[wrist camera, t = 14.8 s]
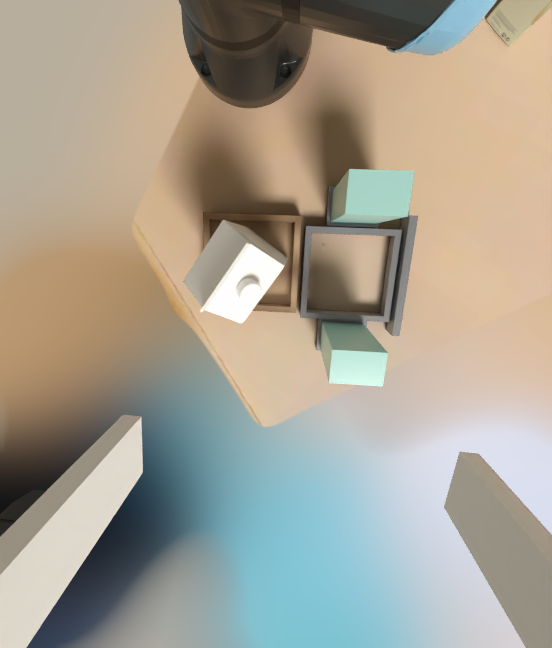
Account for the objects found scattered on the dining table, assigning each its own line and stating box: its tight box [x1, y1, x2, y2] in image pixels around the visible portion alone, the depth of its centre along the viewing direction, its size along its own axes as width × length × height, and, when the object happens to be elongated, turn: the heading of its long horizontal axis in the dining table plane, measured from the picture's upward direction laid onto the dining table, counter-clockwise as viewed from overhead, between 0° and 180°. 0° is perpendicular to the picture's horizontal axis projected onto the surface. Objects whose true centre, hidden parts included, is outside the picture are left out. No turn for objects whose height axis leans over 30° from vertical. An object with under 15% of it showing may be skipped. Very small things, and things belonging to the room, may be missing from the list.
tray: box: [203, 212, 302, 313], centre depth 43 cm, size 13×13×3 cm
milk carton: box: [183, 220, 287, 323], centre depth 34 cm, size 7×7×19 cm
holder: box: [300, 169, 418, 386], centre depth 37 cm, size 23×14×13 cm, turn 178°
